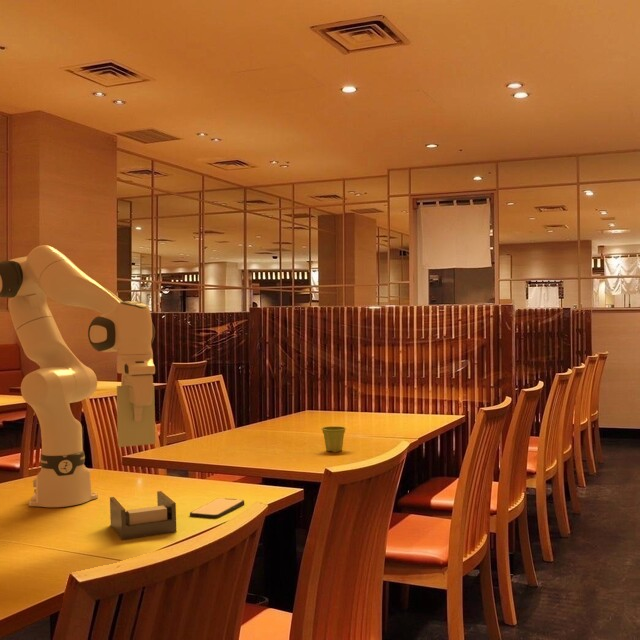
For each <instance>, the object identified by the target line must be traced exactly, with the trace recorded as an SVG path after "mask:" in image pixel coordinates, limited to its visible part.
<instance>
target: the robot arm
mask: <svg viewBox="0 0 640 640" xmlns="http://www.w3.org/2000/svg"><path fill="white" fill-rule="evenodd" d="M0 298H5V299H7V298H8V302H7V303H8V311H9V313H10V314H9V315H10V318H11V322H12V325H13V328H14V330H15V332H16V333H15V334H16V336H17V338H18V340H19V342H20V346H21V347H22V349H23V352H24V355H25V356H26V357H27V358H28V359H29V360H30V361H32V362H34V363H35V364H37V365H38V366H39V367H40V368H38V369H36V370H33V371H31V372H29V373H27V374H26V375H25V376H24V377H23V378H22V380H21V384H20V394H21V397H22V399H23V400H24V402H26V404H28V405H29V406H30V407H31V408H32V410H33V411H34V412H35V413H34V414H35V416H36V417H37V420H38V423H39V427H40V437H41V454H40V459H39V462H40V467H41V469H40V471H39V472H38V473H37V474H36V476H35V478H34V479H33V480H32V482H33V483H32V485H33V488H34V492H33V495H32V497H31V498H30V500H29V502H28V506H29V507H40V508H41V507H43V508H64V507H72V506H76V505H82V504H85V503H88V502H89V501H91V500H94V499H98V498H99V496H98V493H96V492H94V491H92V490H93V489H92V479H91V476H92V475H91V470H90V469H89V468H88V467H86V465H85V462H86V460H85V459H86V455H85V451H84V449H83V427H82V426H83V425H82V423H81V422H80V421H79V420H78V419H76V418H75V416H74V414H73V413H72V409H71V405H70V404H72V403H79V402H81V401H83V400H86V399H87V398H89V397H91V396H92V395H94V393H95V392H96V390H97V386H98V378H97V375H96V373H95V372H94V370H93V369H92V368H90V367H89V366H87V365H85V364H84V363H83V362H82V361H81V360H79V358H78V357H77V356H76V355H75V354H74V353H73V352H72V350H71V349H70V348H69V346H68V345H67V343H66V342H65V340H64V338H63V336H62V334H61V332H60V330H59V328H58V325H57V323H56V321H55V319H54V316H53V313H52V312H51V309H50V308H49V305H48V301H47V298H50V299H51V300H52V301H54V302H55V303H57V304H59V305H63V306H67V307H69V306H70V307H79V308H83V309H89V310H93V311H95V312H98V313H100V314H101V315H99V316H95V317H94V318H93V319H92V321H91V322H90V323H89V325H88V331H87V335H88V337H87V338H88V341H89V343H90V346H92V348H93V349H94V350H95V351H97V352H102V353H112V352H113V353H114V352H115V353H116V373H117V374H121V382H120V383H121V385H120V386H127V385H129V386H130V387H129V401H130V403H132V404H133V407H134V414H133V420H134V421H136V422H139V421H141V420H142V411H143V406H147V405H151V402H152V393H153V384H154V376H153V375H155V374H156V366H155V364H154V353H153V347H152V344H153V342H154V339H155V335H156V329H155V326H154V323H153V321H152V314H151V313H152V312H151V310H150V307H149V306H148V304H146V303H143V302H141V301H133V300H131V301H130V300H125V301H123V300H122V299H121V298H119V297H118V296H117V295H116V294H115V293H113V292H112V291H111V290H109V289H108V288H107V287H105V286H103V284H101V283H99V282H97V281H96V280H95V279H94V278H92V277H90V275H88V274H87V273H85V272H84V271H83V270H81V269H80V267H78V266H77V265H76V264H75V263H74V262H73V261H72V260H71V259H70V258H69V257H67V256H66V255H65V254H64V253H63V252H62V251H59V250H58V249H57V248H55V247H53V246H51V245H47V244H46V245H44V244H43V245H38V246H36V247H34V248H33V249H32V250H31V251H30V252H29V253H28V254H27V255H25V256H22V257H15V258H12V259H3V260H0Z"/></svg>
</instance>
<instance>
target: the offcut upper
mask: <svg viewBox="0 0 640 640" xmlns="http://www.w3.org/2000/svg"><path fill="white" fill-rule="evenodd" d="M126 512H127V523H128V525H134V524H141V523H148V522H155V521H162V520H167V508H166V507H165V506H164V505H163V506H158V505H155V506H150V507H149V506H148V507H140V508H132V509H126Z"/></svg>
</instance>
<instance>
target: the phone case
mask: <svg viewBox="0 0 640 640" xmlns="http://www.w3.org/2000/svg"><path fill="white" fill-rule="evenodd" d="M243 506H245V500H244V499H240V498H239V499H237V498H223V497H220V498H216V499H214V500H212V501H210V502H207V503H205V504H204V505H202V506H200V507H198V508H197V509H194V510H192V511H190V512H189V516H190V517H191V518H203V519H215V520H216V519H219V518H221V517H223V516H225V515H227V514H229V513H231V512H233V511H236V510H237V509H239V508H241V507H243Z"/></svg>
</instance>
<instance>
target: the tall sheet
mask: <svg viewBox="0 0 640 640" xmlns="http://www.w3.org/2000/svg"><path fill="white" fill-rule="evenodd" d="M129 387H130V386H129V385H127V386H121V385H117V386H116V413H117V415H116V416H117V417H116V421H117V423H116V424H117V426H116V427H117V447H118V448H123V447H137V446H145V445H146V446H148V445H155V444H156V406H155V403H156V402H155V401H156V400H155V384H154V383H153V393H152V402H151V405H147V406H143V411H142V420H141V421H139V422H136V421H134V420H133V414H134V407H133V404H132V403H130V401H129Z"/></svg>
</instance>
